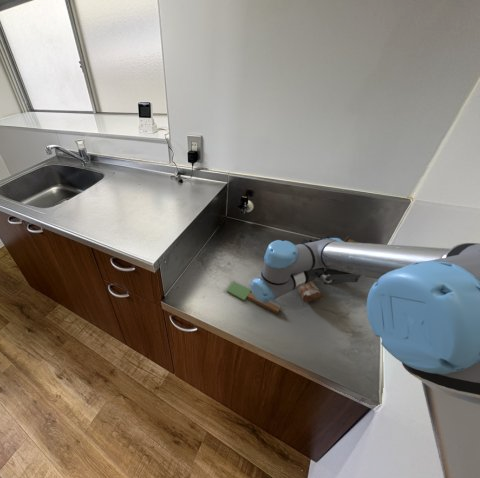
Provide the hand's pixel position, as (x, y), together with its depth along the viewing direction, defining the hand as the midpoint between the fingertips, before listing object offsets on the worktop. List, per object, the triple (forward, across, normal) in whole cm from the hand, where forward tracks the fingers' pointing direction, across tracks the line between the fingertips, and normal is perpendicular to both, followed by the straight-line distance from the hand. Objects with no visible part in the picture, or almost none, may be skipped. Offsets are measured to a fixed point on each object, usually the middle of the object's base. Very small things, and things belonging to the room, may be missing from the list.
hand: (345, 250), depth 83 cm
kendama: (-1, 0, -14) cm, 14 cm away
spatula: (-31, -6, -14) cm, 34 cm away
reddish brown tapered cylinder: (-12, -4, -14) cm, 19 cm away
